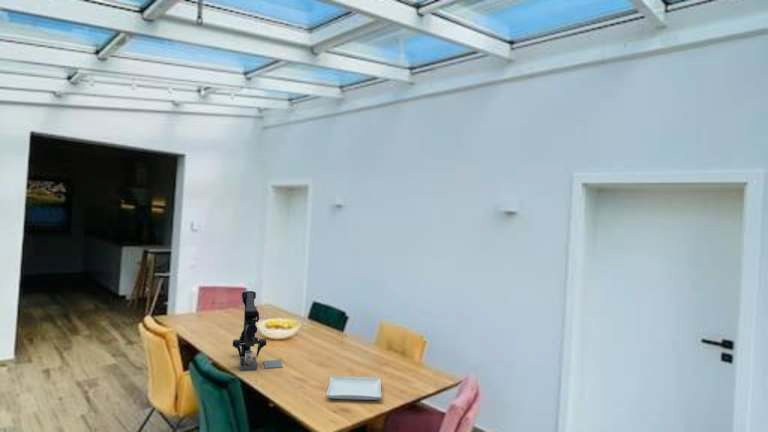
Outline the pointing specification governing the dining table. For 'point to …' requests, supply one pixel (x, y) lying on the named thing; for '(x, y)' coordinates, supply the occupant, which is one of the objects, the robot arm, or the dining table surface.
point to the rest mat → (273, 364)
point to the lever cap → (248, 354)
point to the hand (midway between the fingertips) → (248, 357)
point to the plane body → (248, 364)
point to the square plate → (354, 388)
